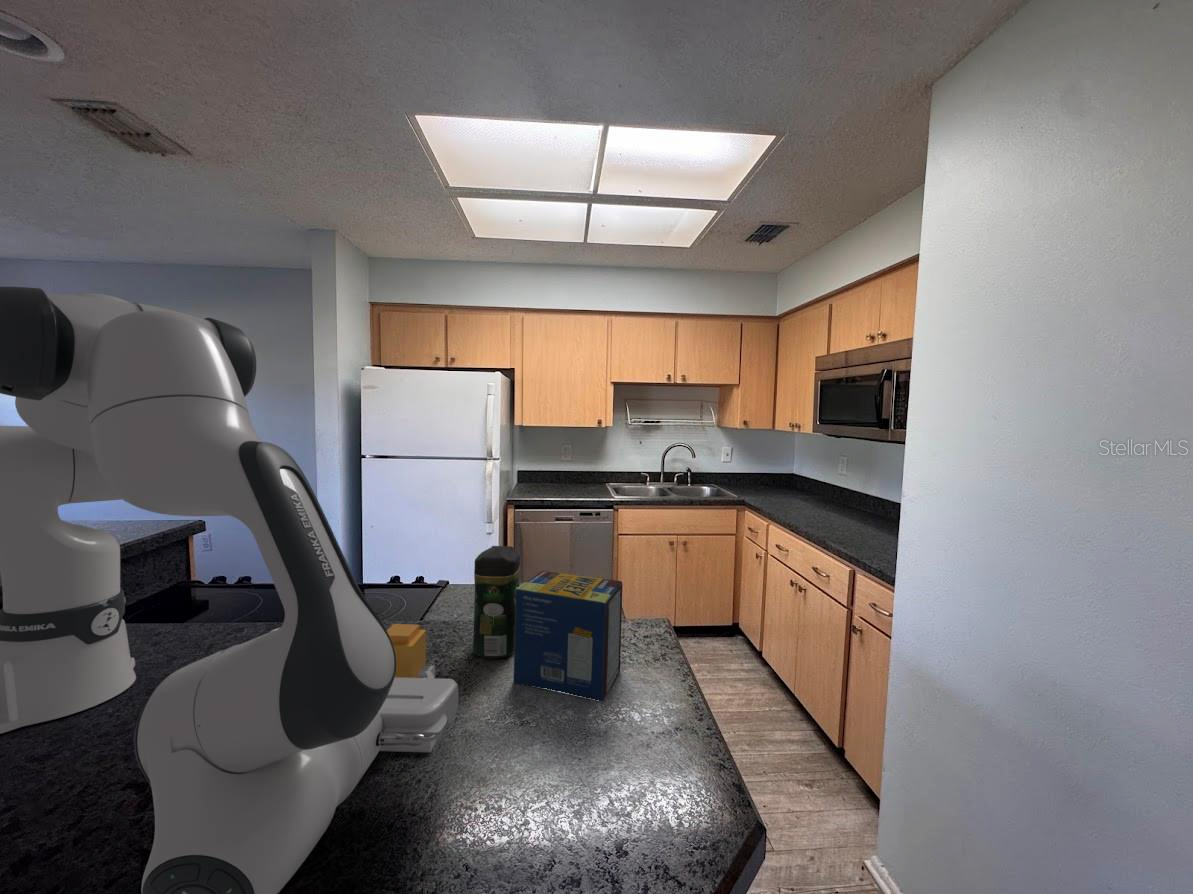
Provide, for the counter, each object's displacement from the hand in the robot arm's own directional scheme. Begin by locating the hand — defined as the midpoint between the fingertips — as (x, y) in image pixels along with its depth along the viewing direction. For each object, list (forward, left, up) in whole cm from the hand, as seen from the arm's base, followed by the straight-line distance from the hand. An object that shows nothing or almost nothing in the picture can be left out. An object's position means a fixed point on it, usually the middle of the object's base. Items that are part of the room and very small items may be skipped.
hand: (393, 669), depth 60 cm
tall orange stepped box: (0, +3, -8) cm, 8 cm away
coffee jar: (+8, +26, -9) cm, 28 cm away
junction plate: (0, +3, -9) cm, 10 cm away
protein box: (+22, +17, -9) cm, 29 cm away
